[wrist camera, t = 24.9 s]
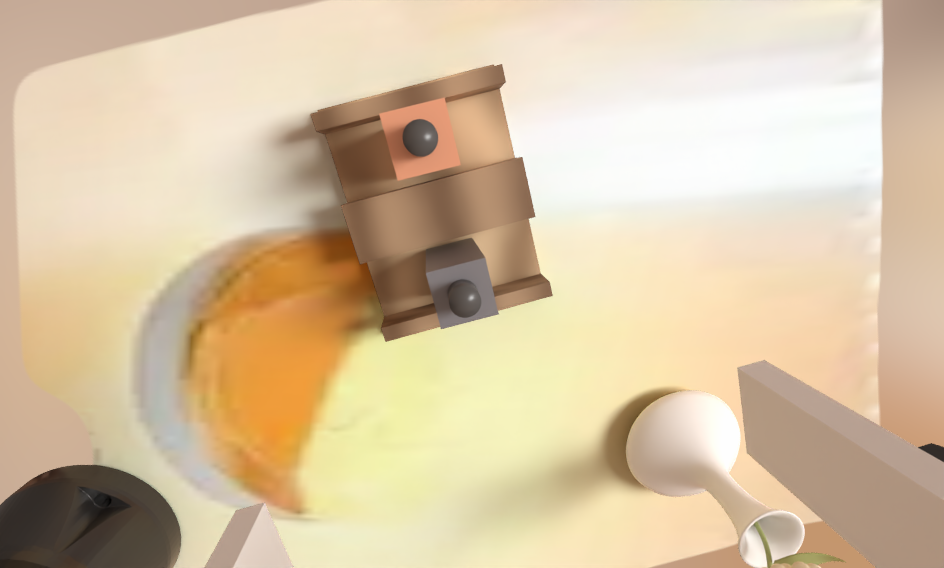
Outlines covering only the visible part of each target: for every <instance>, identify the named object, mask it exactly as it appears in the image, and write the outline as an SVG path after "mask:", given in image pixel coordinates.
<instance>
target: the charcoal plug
mask: <svg viewBox="0 0 944 568" xmlns="http://www.w3.org/2000/svg"><path fill="white" fill-rule="evenodd" d="M426 276H427V279H428V283H429V287H430V290H431V294H432V298H433V301H434V305H435V309H436V312H437V316H438V320H439V323H440V327H441V329H444V328H447V327H451V326H455V325H459V324H463V323H467V322H470V321H474V320H478V319H482V318H486V317H490V316H494V315H497V314H499V313H498V309H497V305H496V301H495V296H494V292H493V288H492V284H491V280H490V275H489V271H488V267H487V263H486V258H485V256H484V255H483V253H482V252H481V250H480V249H479V247H478V246H477V244H476V243H475V241H474V240H473V238H468V239H464V240H460V241H456V242H452V243H448V244H444V245H440V246H437V247H433V248H429V249H426Z"/></svg>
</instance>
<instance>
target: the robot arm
mask: <svg viewBox="0 0 944 568" xmlns="http://www.w3.org/2000/svg"><path fill="white" fill-rule="evenodd" d="M738 377H739V386H740V395H741V404H742V413H743V422H744V431H745V440H746V449H747V453H748V454H749V455H750V456H751V457H752V458H753V459H754V460H755V461H757V462H758V463H759V464H760V465H761V466H762V467H763V468H764V469H766V470H767V471H768V472H769V473H770V474H771V475H772V476H773V477H775V478H776V479H777V480H778V481H779V482H780V483H781V484H782V485H784V486H785V487H786V488H787V489H788V490H789V491H790V492H791V493H793V494H794V495H795V496H796V497H797V498H798V499H799V500H800V501H802V502H803V503H804V504H805V505H806V506H807V507H808V508H809V509H811V510H812V511H813V512H814V513H815V514H816V515H817V516H818V517H820V518H821V519H822V520H823V521H824V522H825V523H826V524H828V525H829V526H830V527H831V528H832V529H833V530H834V531H835V532H836V533H838V534H839V535H840V536H841V537H842V538H843V539H844V540H846V541H847V542H848V543H849V544H850V545H851V546H852V547H853V548H855V549H856V550H857V551H858V552H859V553H860V554H861V555H862V556H864V557H865V558H866V559H867V560H868V561H869V562H870V563H871V564H872V565H874V566H875V567H876V568H944V447H941V446H938V445H935V444H932V443H931V444H928V445H925V446H921V447H916V446H914V445H912V444H911V443H909V442H907V441H905V440H904V439H902V438H900V437H898V436H897V435H895V434H893V433H891V432H890V431H888V430H886V429H884V428H883V427H881V426H879V425H877V424H876V423H874V422H872V421H870V420H868V419H867V418H865V417H863V416H861V415H860V414H858V413H856V412H854V411H853V410H851V409H849V408H847V407H846V406H844V405H842V404H840V403H839V402H837V401H835V400H833V399H832V398H830V397H828V396H826V395H825V394H823V393H821V392H819V391H818V390H816V389H814V388H812V387H811V386H809V385H807V384H805V383H803V382H802V381H800V380H798V379H796V378H795V377H793V376H791V375H789V374H788V373H786V372H784V371H782V370H781V369H779V368H777V367H775V366H774V365H772V364H770V363H768V362H767V361H765V360H763V361H759V362H756V363H752V364H749V365H745V366H742V367H738ZM180 547H181V533H180V527H179V524H178V521H177V518H176V516H175V514H174V512H173V510H172V508H171V507H170V505H169V504H168V503H167V502H166V500H165V499H164V498H163V497H162V496H161V495H160V494H159V493H158V492H157V491H156V490H155V489H153V488H152V487H151V486H149V485H148V484H147V483H145V482H143V481H142V480H140V479H138V478H136V477H134V476H132V475H130V474H128V473H125V472H122V471H119V470H116V469H112V468H108V467H103V466H94V465H74V466H66V467H61V468H57V469H53V470H50V471H47V472H45V473H43V474H40V475H38V476H37V477H35V478H33V479H32V480H30V481H29V482H27V483H26V484H25V485H24V486H22V487H21V488H20V489H19V490H17V491H16V492H15V493H13V494H12V495H11V496H10V497H9V498H7V499H6V500H5V501H4V502H3V503H2V504H1V505H0V568H173V566H174V565H175V563H176V561H177V558H178V555H179V552H180ZM205 568H294V566H293V564H292V562H291V560H290V558H289V555H288V553H287V551H286V549H285V547H284V544H283V542H282V540H281V538H280V535H279V533H278V531H277V529H276V527H275V524H274V522H273V520H272V518H271V515H270V513H269V511H268V509H267V507H266V504H265V502H264V503H261V504H257V505H254V506H250V507H247V508H243V509H240V510H236V512H235V513H234V515H233V517H232V519H231V521H230V522H229V524H228V526H227V528H226V530H225V531H224V533H223V535H222V537H221V539H220V540H219V542H218V544H217V546H216V548H215V549H214V551H213V553H212V555H211V557H210V558H209V560H208V562H207V564H206V566H205Z"/></svg>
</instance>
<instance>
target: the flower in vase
mask: <svg viewBox="0 0 944 568" xmlns="http://www.w3.org/2000/svg"><path fill="white" fill-rule="evenodd" d="M739 446H740V430H739V426H738V423H737V420H736V418H735V416H734V414H733V412H732V410H731V409H730V408H729V406H728V405H727V404H726V403H725V402H724V401H723V400H721V399H720V398H718V397H717V396H715V395H712V394H710V393H707V392H703V391H692V390H689V391H680V392H675V393H671V394H668V395H666V396H663V397H661V398H659V399H657V400H656V401H654V402H653V403H651V404H650V405H649V406H647V407H646V408H645V409H644V410H643V411H642V412H641V413H640V415H639V416H638V417H637V419H636V420H635V422H634V423H633V425H632V427H631V430H630V432H629V436H628V439H627V444H626V459H627V463H628V466H629V469H630V471H631V473H632V474H633V476H634V477H635V478H636V479H637V480H638V482H640V483H641V484H642V485H643V486H645V487H647V488H648V489H650V490H652V491H654V492H656V493H658V494H661V495H665V496H671V497H682V496H690V495H695V494H699V493H702V492H704V491H706V490H707V491H708V492H709V493H710V494H711V495H712V496H713V497H714V498H715V499H716V500H717V501H718V503H719V504H720V505H721V506H722V508H723V509H724V510H725V512H726V513H727V515H728V516H729V518H730V519H731V521H732V523H733V525H734V527H735V529H736V531H737V534H738V549H739V553H740V556H741V557H742V559H743V560H744V561H745V563H747V564H748V565H750V566H752V567H755V568H820V566H818V564H822V563H825V562H830V561H841V562H845V561H843V560H841V559H839V558H836V557H833V556H830V555H826V554H821V553H799V554H796V552H797V551H798V550H799V548H800V547H801V545H802V542H803V539H804V526H803V523H802V521H801V520H800V519H799V517H797V516H796V515H795V514H793V513H791V512H788V511H785V510H777V509H773V508H770V507H768V506H766V505H764V504H762V503H761V502H759V501H758V500H756V499H755V498H754V497H752V496H751V495H750V494H749V493H747V492H746V491H745V490H744V489H743V488H742V487H741V486H740V485H738V484H737V483H736V481H735V480H734V479H733V478H732V477H731V476H730V474H729V471H730V470H731V468H732V466H733V465H734V463H735V460H736V457H737V454H738V450H739Z"/></svg>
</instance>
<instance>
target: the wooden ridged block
mask: <svg viewBox="0 0 944 568" xmlns="http://www.w3.org/2000/svg"><path fill="white" fill-rule="evenodd" d="M505 82H506V81H505V76H504V71H503V67H502V64H501V65H497V66H494V65H490V66H486V67H482V68H478V69H474V70H471V71H467V72H463V73H459V74H455V75H451V76H447V77H444V78H440V79H436V80H432V81H428V82H424V83H421V84H417V85H413V86H409V87H405V88H401V89H398V90H394V91H390V92H386V93H382V94H378V95H375V96H371V97H367V98H363V99H359V100H355V101H351V102H348V103H344V104H340V105H336V106H332V107H328V108H325V109H321V110H317V111H318V112H316V113H313V114H311V117H312V120H313V123H314V126H315V129H316V131H317V132H320V133H323V134H325V135H326V138H327V141H328V145H329V148H330V151H331V154H332V157H333V160H334V163H335V166H336V169H337V172H338V175H339V178H340V181H341V184H342V188H343V191H344V194H345V197H346V200H347V203H346V204H343V205H341V208H342V211H343V214H344V217H345V220H346V223H347V226H348V229H349V232H350V235H351V238H352V241H353V244H354V247H355V250H356V253H357V256H358V260H359V263H360V264H363V263H367V264H368V268H369V271H370V274H371V277H372V280H373V283H374V286H375V289H376V292H377V295H378V298H379V301H380V304H381V307H382V311H383V314H384V320H383V323H382V327H381V329H382V332H383V335H384V338H385V341H386V342H387V341H390V340H394V339H397V338H401V337H405V336H408V335H412V334H416V333H419V332H423V331H426V330H430V329H434V328H437V327H440V323H439V320H438V316H437V312H436V309H435V305H434V301H433V298H432V294H431V290H430V287H429V283H428V279H427V276H426V249H429V248H433V247H437V246H440V245H444V244H448V243H452V242H456V241H460V240H464V239H468V238H473V240H474V241H475V243H476V244H477V246H478V247H479V249H480V250H481V252H482V253H483V255H484V256H485V258H486V263H487V267H488V271H489V275H490V280H491V284H492V288H493V292H494V296H495V301H496V305H497V309H498V311H499V310H502V309H506V308H510V307H513V306H517V305H520V304H524V303H528V302H531V301H535V300H539V299H542V298H546V297H549V296H553V295H552V291H551V286H550V282H549V281H548V280H547V279H546V278H545V277H544V276H543V275H542V274H541V273H540V269H539V264H538V260H537V255H536V251H535V246H534V242H533V237H532V233H531V228H530V224H529V218H533V217H535V213H534V209H533V204H532V199H531V195H530V190H529V186H528V181H527V177H526V172H525V167H524V163H523V158H522V157H520V158H515V157H514V152H513V148H512V143H511V139H510V134H509V130H508V125H507V121H506V116H505V112H504V107H503V103H502V98H501V94H500V88H501V86H502V85H503V84H504V83H505ZM441 98H445V101H446V105H447V110H448V114H449V118H450V122H451V126H452V130H453V135H454V139H455V143H456V147H457V151H458V155H459V159H460V164H461V165H459V166H455V167H451V168H447V169H443V170H439V171H435V172H431V173H427V174H423V175H419V176H415V177H411V178H407V179H403V180H399V181H398V180H397V176H396V172H395V169H394V165H393V162H392V158H391V155H390V151H389V147H388V144H387V140H386V137H385V133H384V129H383V126H382V122H381V119H380V115H379V114H380V113H384V112H388V111H392V110H396V109H400V108H404V107H408V106H412V105H416V104H420V103H424V102H428V101H432V100H436V99H441Z"/></svg>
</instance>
